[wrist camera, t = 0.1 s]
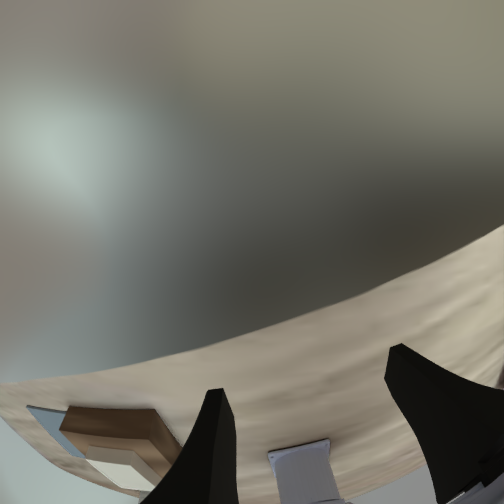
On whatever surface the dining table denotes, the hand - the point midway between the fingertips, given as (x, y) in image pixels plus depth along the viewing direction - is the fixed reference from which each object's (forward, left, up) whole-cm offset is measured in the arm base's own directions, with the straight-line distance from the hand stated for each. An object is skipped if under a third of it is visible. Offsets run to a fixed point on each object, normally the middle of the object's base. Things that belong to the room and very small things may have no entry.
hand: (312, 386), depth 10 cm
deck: (-19, +20, -10) cm, 29 cm away
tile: (-19, +20, -6) cm, 28 cm away
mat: (-20, +31, -10) cm, 38 cm away
